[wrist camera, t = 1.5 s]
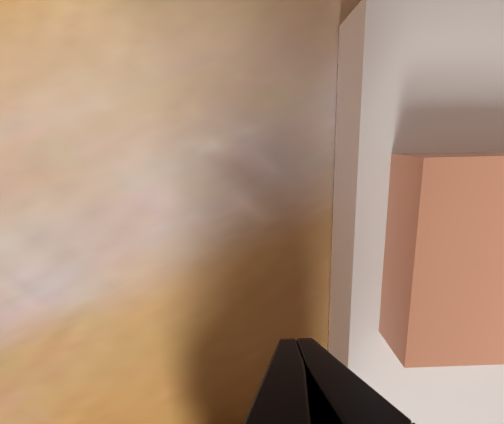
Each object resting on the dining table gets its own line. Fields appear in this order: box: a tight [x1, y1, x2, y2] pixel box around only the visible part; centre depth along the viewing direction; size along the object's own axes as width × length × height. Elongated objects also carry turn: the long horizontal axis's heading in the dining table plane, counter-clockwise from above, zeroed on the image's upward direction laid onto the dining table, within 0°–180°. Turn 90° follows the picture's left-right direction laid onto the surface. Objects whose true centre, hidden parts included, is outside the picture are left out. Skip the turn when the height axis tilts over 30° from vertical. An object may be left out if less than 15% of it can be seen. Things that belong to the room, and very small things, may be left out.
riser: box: [328, 0, 504, 424], centre depth 18 cm, size 22×14×4 cm, turn 1°
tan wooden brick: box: [379, 151, 504, 368], centre depth 15 cm, size 9×7×3 cm
